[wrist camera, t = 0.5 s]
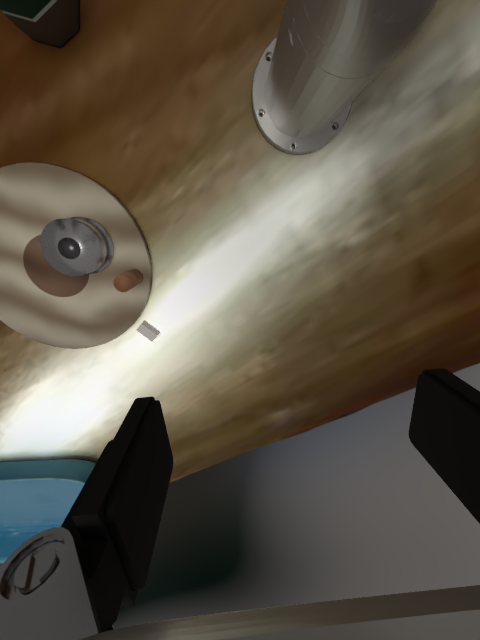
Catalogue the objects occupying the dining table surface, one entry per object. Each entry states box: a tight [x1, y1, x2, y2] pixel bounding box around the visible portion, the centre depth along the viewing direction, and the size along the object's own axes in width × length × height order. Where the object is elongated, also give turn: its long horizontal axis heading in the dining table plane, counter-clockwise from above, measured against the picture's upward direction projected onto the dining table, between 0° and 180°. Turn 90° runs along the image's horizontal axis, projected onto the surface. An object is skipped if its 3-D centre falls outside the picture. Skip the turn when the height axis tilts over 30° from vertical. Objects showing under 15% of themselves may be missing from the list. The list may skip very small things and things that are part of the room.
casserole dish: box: [0, 459, 96, 563], centre depth 51 cm, size 37×22×7 cm, turn 93°
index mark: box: [137, 321, 159, 341], centre depth 42 cm, size 3×1×2 cm, turn 48°
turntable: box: [0, 162, 152, 349], centre depth 36 cm, size 26×26×6 cm
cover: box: [40, 217, 114, 276], centre depth 34 cm, size 8×8×4 cm
